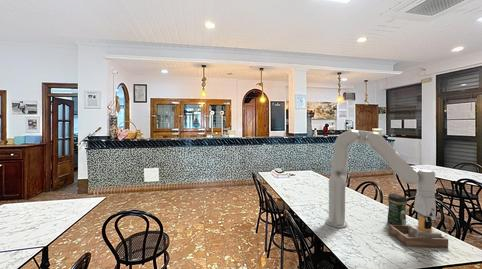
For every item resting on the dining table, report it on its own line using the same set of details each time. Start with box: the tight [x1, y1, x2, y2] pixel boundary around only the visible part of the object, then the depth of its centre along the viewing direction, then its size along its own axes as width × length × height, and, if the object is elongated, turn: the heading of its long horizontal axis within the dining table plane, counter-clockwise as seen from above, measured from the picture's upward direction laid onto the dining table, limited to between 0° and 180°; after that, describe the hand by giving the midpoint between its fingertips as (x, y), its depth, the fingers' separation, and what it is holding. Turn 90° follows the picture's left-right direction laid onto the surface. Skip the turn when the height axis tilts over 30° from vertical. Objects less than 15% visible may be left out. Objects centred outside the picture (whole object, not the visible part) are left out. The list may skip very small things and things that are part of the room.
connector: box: [417, 213, 432, 231], centre depth 124 cm, size 4×4×10 cm
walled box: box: [388, 224, 449, 249], centre depth 125 cm, size 16×20×6 cm
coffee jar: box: [386, 192, 408, 225], centre depth 146 cm, size 10×8×19 cm
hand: (424, 226), depth 124 cm, fingers closed on connector, 4 cm apart
